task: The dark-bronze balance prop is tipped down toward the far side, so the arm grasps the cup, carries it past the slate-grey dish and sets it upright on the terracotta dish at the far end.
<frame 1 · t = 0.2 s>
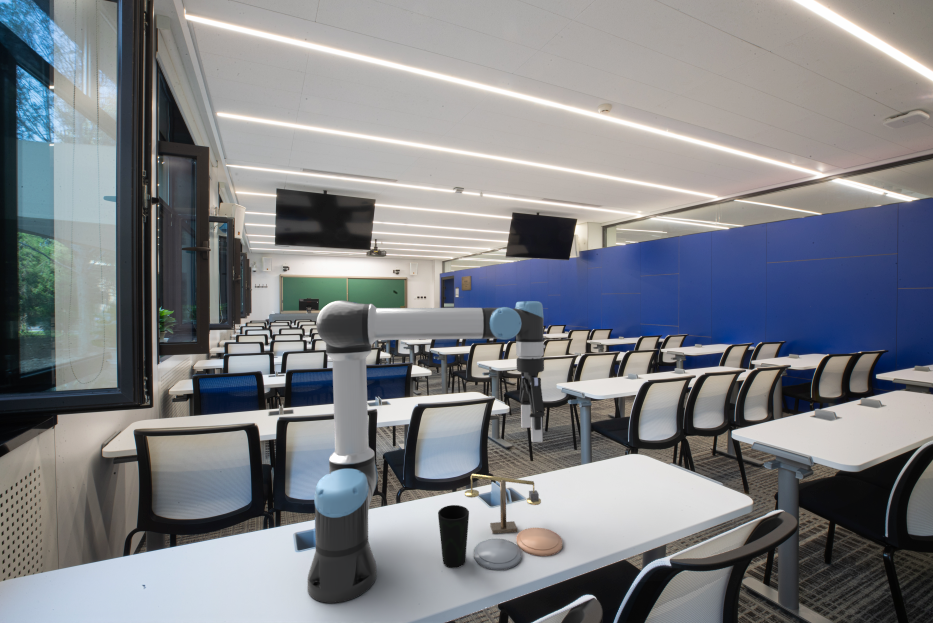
hand: (531, 434, 111), 28 cm above the table, fingers open, 13 cm apart
balance: (503, 529, 114), on the table
cup: (454, 561, 99), on the table
dish far: (539, 542, 106), on the table
dish near: (497, 555, 101), on the table
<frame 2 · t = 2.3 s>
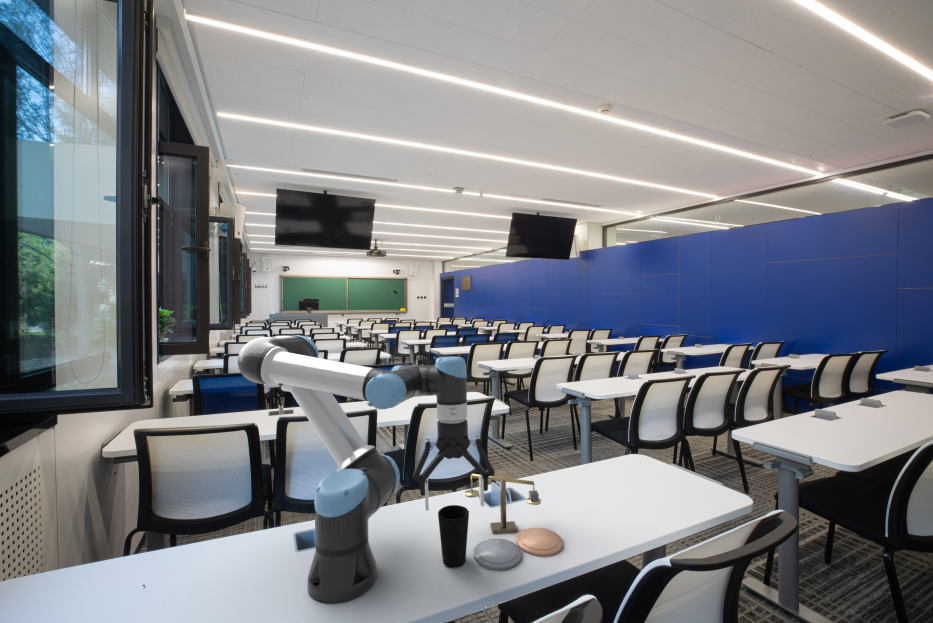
hand: (454, 506, 99), 14 cm above the table, fingers open, 13 cm apart
nothing on the table moved.
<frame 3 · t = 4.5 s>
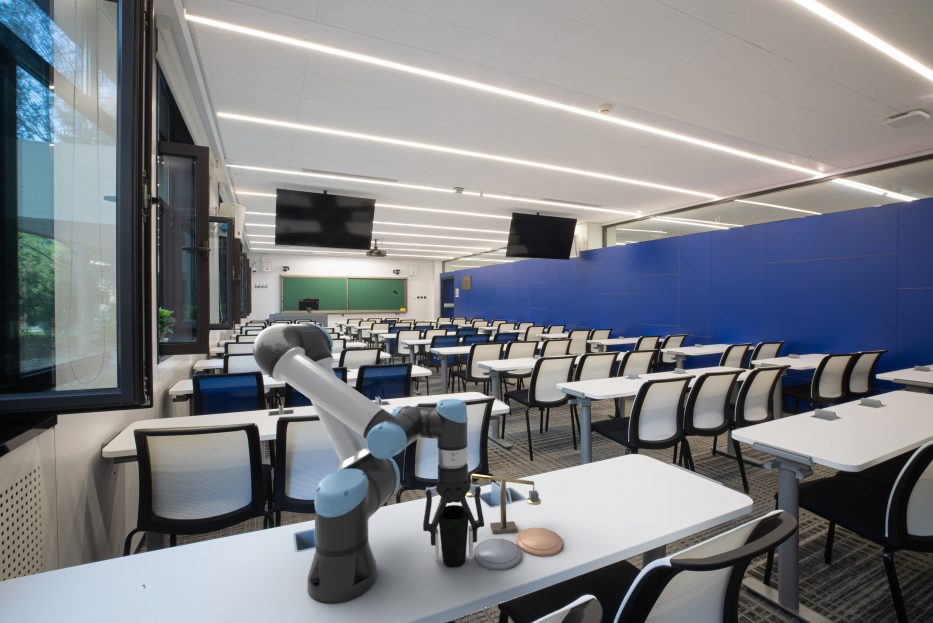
hand: (454, 556, 99), 1 cm above the table, fingers closed on cup, 8 cm apart
cup: (454, 561, 99), on the table, touching gripper
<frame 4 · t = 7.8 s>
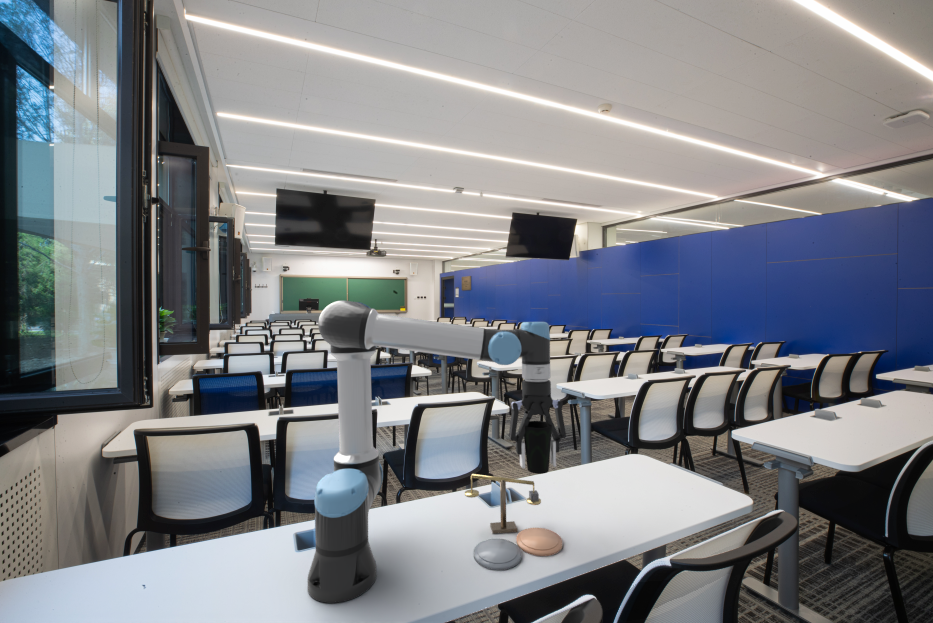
hand: (537, 465, 107), 20 cm above the table, fingers closed on cup, 8 cm apart
cup: (538, 470, 107), point 19 cm above the table, touching gripper
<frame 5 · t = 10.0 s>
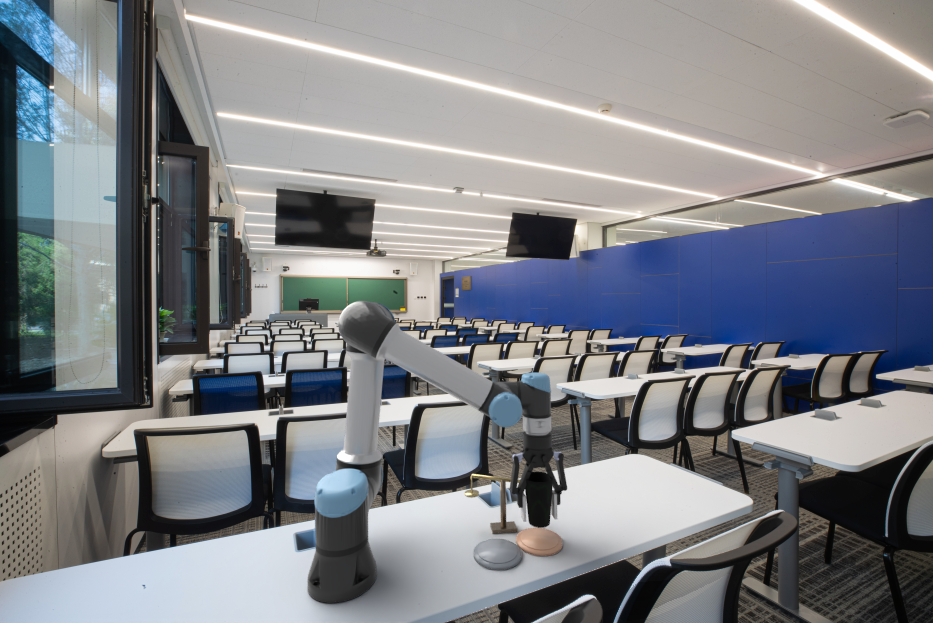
hand: (539, 517, 107), 7 cm above the table, fingers closed on cup, 8 cm apart
cup: (539, 523, 106), point 5 cm above the table, touching gripper
when the fingers open (4 cm above the table, at t = 11.6 s): cup drops 1 cm, resting on dish far.
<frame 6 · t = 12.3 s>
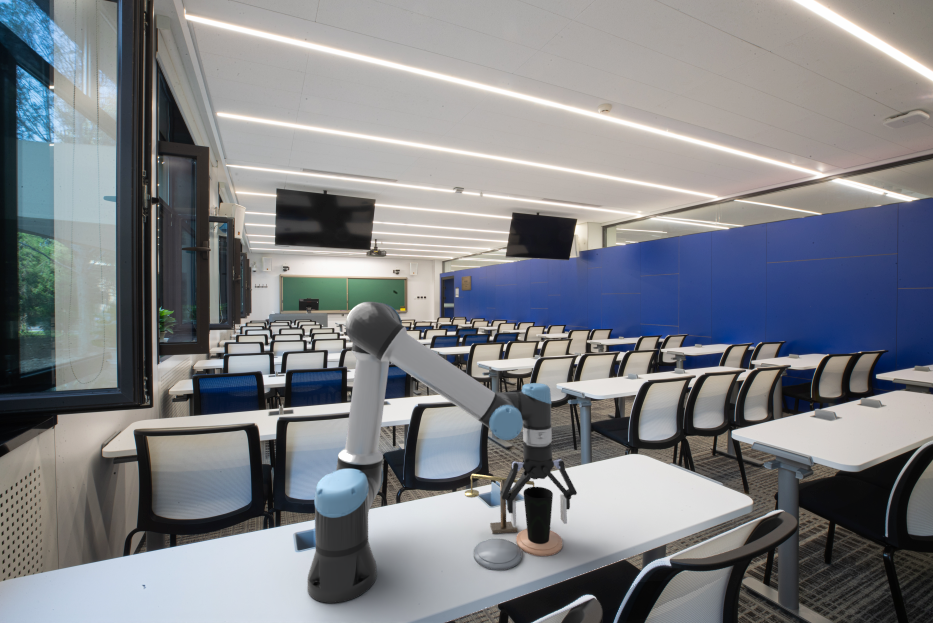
hand: (538, 523, 107), 5 cm above the table, fingers open, 13 cm apart
cup: (538, 539, 106), point 1 cm above the table, touching dish far
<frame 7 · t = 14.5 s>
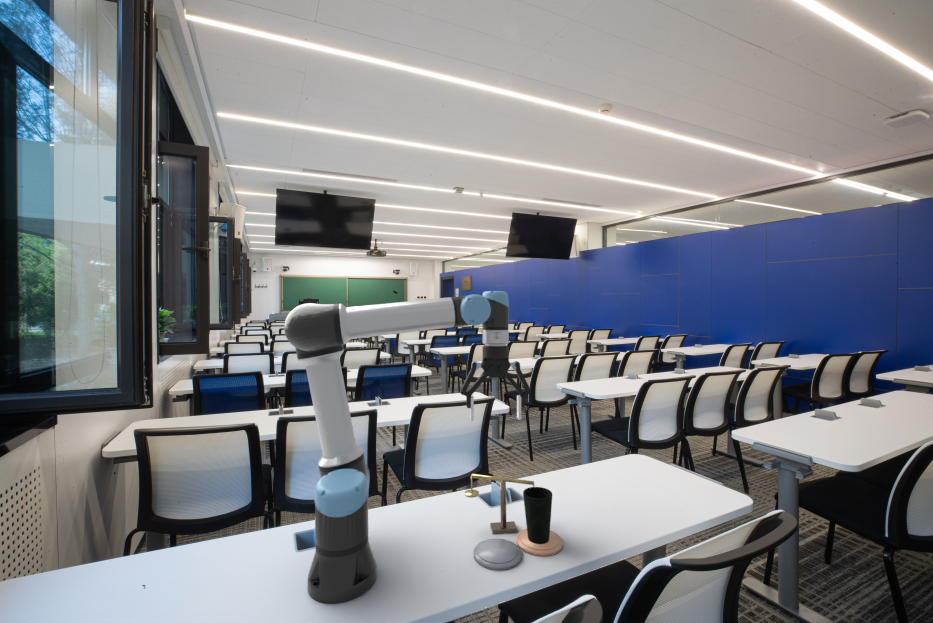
hand: (495, 419, 115), 31 cm above the table, fingers open, 13 cm apart
nothing on the table moved.
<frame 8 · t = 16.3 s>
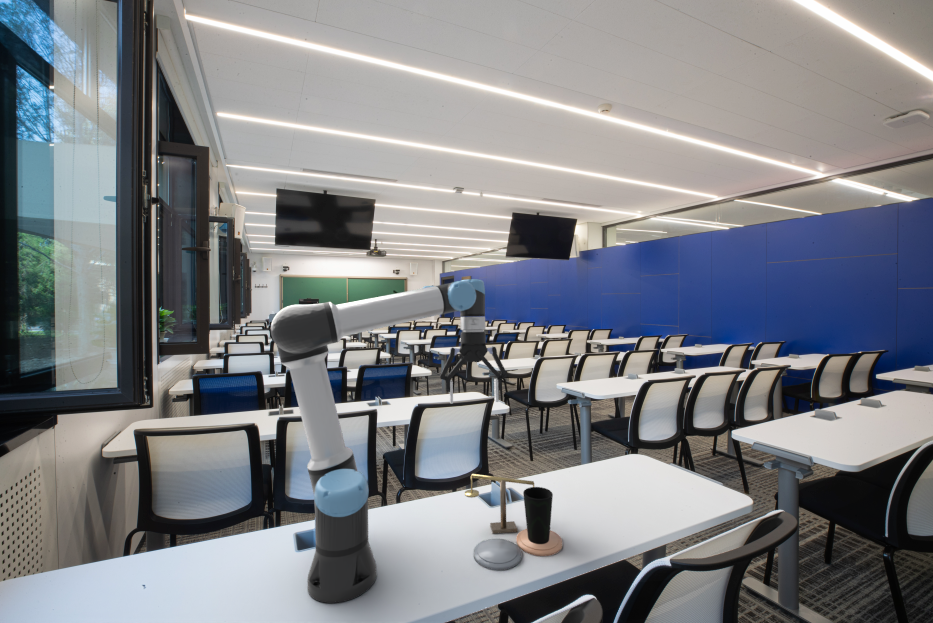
hand: (474, 402, 120), 35 cm above the table, fingers open, 13 cm apart
nothing on the table moved.
at the end: cup 0.2 cm from the dish far (horizontally); cup tilted 0°; the gripper is holding nothing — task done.
